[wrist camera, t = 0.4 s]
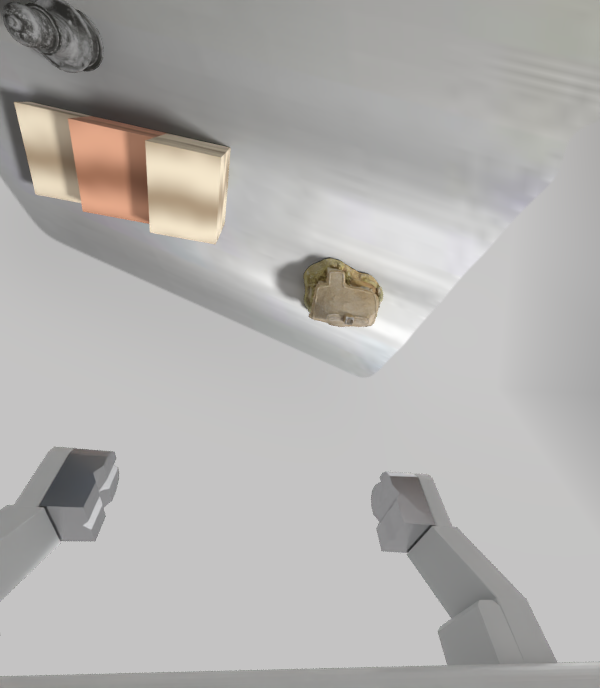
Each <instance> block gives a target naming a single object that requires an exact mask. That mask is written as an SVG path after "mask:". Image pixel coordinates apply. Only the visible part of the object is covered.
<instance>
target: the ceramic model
mask: <svg viewBox="0 0 600 688" xmlns="http://www.w3.org/2000/svg"><path fill="white" fill-rule="evenodd" d="M303 278H304V282H305V283H304V285H305V295H304V304H305V306H306V308H307V309H308V311H309V313H310V314H309V317H310V318H312V319H313V320H318V321H322V322H326V323H328V324H329V325H333V326H338V327H345V326H348V327H349V326H357V327H364V326H365V327H367V326H371V325H373V324H374V322H375V319H376V317H377V311H378V308H379V307H380V306H379V305H380V303H381V302H382V300H383V292H382V288H381V287H380V286H379V285H378V283H377V281H376V280H375V279H374V278H373V277H372V276H371V275H369V274H365V273H360V272H358V271H356V270H355V269H352V268H351V267H349V266H348V265H346V264H344V263H343V262H342V261H339V260H336V259H332V258H330V259H324V260H322V261H320V262H318V263H315V264H313V265H311V266H310V267H308V269H307V270H306V271H305V273H304V276H303Z"/></svg>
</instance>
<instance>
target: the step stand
mask: <svg viewBox="0 0 600 688" xmlns="http://www.w3.org/2000/svg"><path fill="white" fill-rule="evenodd" d="M14 104H15V108H16V113H17V117H18V121H19V125H20V130H21V134H22V138H23V142H24V147H25V151H26V155H27V159H28V164H29V168H30V172H31V176H32V181H33V185H34V189H35V193H36V195H42V196H47V197H52V198H58V199H63V200H68V201H73V202H79V203H82V209H83V211H84V212H89V213H94V214H100V215H105V216H111V217H116V218H121V219H127V220H132V221H138V222H143V223H148V224H150V233H156V234H161V235H167V236H172V237H178V238H183V239H189V240H194V241H200V242H205V243H211V244H216V242H217V240H218V238H219V235H220V233H221V231H222V228H223V226H224V224H225V212H226V199H227V186H228V173H229V160H230V148H229V147H225V146H221V145H216V144H212V143H208V142H203V141H199V140H194V139H190V138H186V137H181V136H177V135H173V134H168V133H164V132H160V131H155V130H151V129H146V128H142V127H138V126H133V125H129V124H125V123H120V122H116V121H112V120H107V119H103V118H98V117H94V116H90V115H85V114H81V113H77V112H72V111H68V110H64V109H59V108H55V107H50V106H46V105H42V104H37V103H33V102H14Z"/></svg>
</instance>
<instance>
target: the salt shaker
mask: <svg viewBox="0 0 600 688" xmlns="http://www.w3.org/2000/svg"><path fill="white" fill-rule="evenodd" d="M3 21H4V24H5V26H6V28H7V30H8V32H9V33H10V34H11V36H12V37H13V38H14V39H15V40H16V41H18V42H19V43H21V44H22V45H25V46H27V47H32V48H34V49H35V50H36V51H38V52H39V53H41V54H43V55H44V57H45V58H46V59H47V60H48V61H49V62H50V63H51V64H52V65H54V66H56V67H57V68H59V69H60V70H63V71H66V72H71V73H77V72H80V71H92V70H95V69H96V68H97V67H99V65H100V63H101V62H102V59H103V43H102V39H101V36H100V34H99V31H98V30H97V28H96V26H95V25H94V23H93V22H92V21H91V20H90V19H89V18H88V17H87V16H86V15H85V14H83V13H82V12H80V11H78V10H75V9H74V8H73V7H72V6H71V5H70V4H68V3H67V2H65V1H64V0H37V1H36V2H35V3H34V4H33V3H29V4H25V5H23V4H20V3H17V2H11V3H8V4H6V5H5V7H4V9H3Z"/></svg>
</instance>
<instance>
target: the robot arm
mask: <svg viewBox="0 0 600 688" xmlns="http://www.w3.org/2000/svg"><path fill="white" fill-rule="evenodd" d="M115 460H116V455H115V452H113V451H101V450H88V449H77V448H65V447H54V448H52V449H51V450H50V451H49V452H48V453H47V455H46V457H45V458H44V459H43V461H42V463H41V464H40V465H39V467H38V469H37V470H36V472H35V473H34V475H33V476H32V478H31V479H30V481H29V482H28V484H27V486H26V487H25V489H24V490H23V492H22V493H21V495H20V496H19V498H18V499H17V501H16V503H15V504H14V505H7V506H5V507H4V508H2V509H1V510H0V601H1V600H2V599H3V598H4V597H5V596H6V595H7V594H8V593H10V592H11V590H12V589H14V588H15V587H16V586H17V585H18V584H19V583H20V582H21V581H22V580H23V579H24V578H25V577H26V576H27V575H28V574H29V573H30V572H31V571H32V570H34V568H36V567H37V566H38V565H39V564H40V563H41V561H43V560H44V559H45V558H46V557H47V556H48V555H49V554H50V553H51V552H52V551H53V550H54V549H55V548H56V547H57V546H58V545H60V544H61V542H60V541H96V538H97V536H98V533H99V531H100V529H101V526H102V524H103V521H104V519H105V512H104V507H105V506H106V505H107V504H108V503H110V502H111V501H112V499H113V497H114V495H115V492H116V489H117V485H118V480H119V469H118V467H117V466H115V465H114V463H115ZM380 480H381V482H380V483H378V484H376V485H375V486H374V488H373V490H372V495H371V506H372V510H373V514H374V516H375V517H376V518H377V519H378V521H379V524H378V527H377V533H378V537H379V542H380V546H381V551H387V552H403V553H407V556H408V557H409V558H410V560H411V561H412V563H413V564H414V565H415V567H416V568H417V570H418V571H419V573H420V574H421V575H422V577H423V578H424V580H425V581H426V583H427V584H428V585H429V587H430V588H431V590H432V591H433V593H434V594H435V595H436V597H437V598H438V600H439V601H440V603H441V604H442V606H443V607H444V608H445V610H446V611H447V613H448V614H449V615H450V617H451V618H452V619H451V620H449V621H448V622H446V623H445V624H443V625H442V626H440V628H439V630H438V634H439V637H440V641H441V645H442V648H443V652H444V655H445V659H446V662H447V665H445V666H444V665H442V666H405V667H404V666H403V667H364V668H362V667H361V668H324V669H323V668H321V669H281V670H240V671H203V672H202V671H201V672H200V671H199V672H161V673H160V672H158V673H118V674H80V675H79V674H77V675H39V676H0V688H600V662H569V663H568V662H567V663H566V662H564V663H557V661H556V659H555V657H554V655H553V653H552V650H551V648H550V646H549V644H548V642H547V640H546V638H545V636H544V634H543V632H542V630H541V628H540V626H539V624H538V622H537V620H536V618H535V616H534V614H533V612H532V610H531V607H530V606H529V604H528V602H527V599H526V598H525V597H524V596H523V595H522V594H521V593H520V592H519V591H518V590H517V589H516V588H515V587H514V586H513V585H512V584H511V583H510V582H509V581H508V580H507V579H506V577H504V576H503V574H502V573H501V572H500V571H498V569H497V568H496V567H495V566H494V565H493V564H492V563H491V562H490V561H489V560H488V559H487V558H486V557H485V556H484V555H483V554H482V553H481V552H480V551H479V550H478V549H477V547H475V546H474V544H473V543H472V542H471V541H470V540H469V539H468V538H467V537H466V536H465V535H464V534H463V533H462V532H461V531H460V530H459V529H458V528H457V527H452V524H451V522H450V519H449V517H448V515H447V512H446V510H445V507H444V505H443V503H442V500H441V498H440V495H439V493H438V490H437V488H436V485H435V483H434V480H433V478H432V477H431V476H430V475H427V474H414V473H403V472H384V473H382V475H381V476H380Z"/></svg>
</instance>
